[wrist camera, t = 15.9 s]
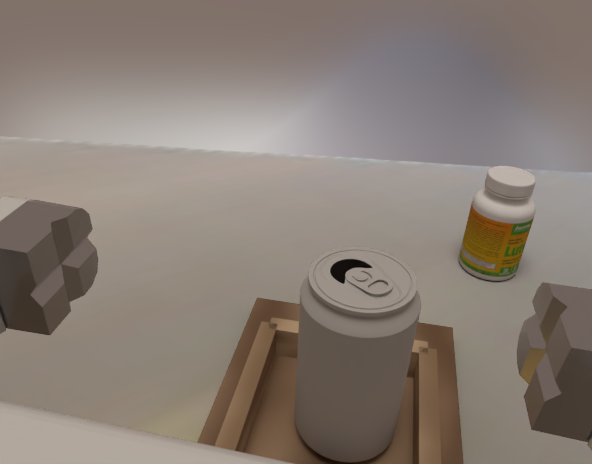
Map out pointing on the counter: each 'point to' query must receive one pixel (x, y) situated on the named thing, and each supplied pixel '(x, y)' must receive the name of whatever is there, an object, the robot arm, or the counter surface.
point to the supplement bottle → (498, 224)
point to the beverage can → (354, 351)
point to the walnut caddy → (282, 390)
